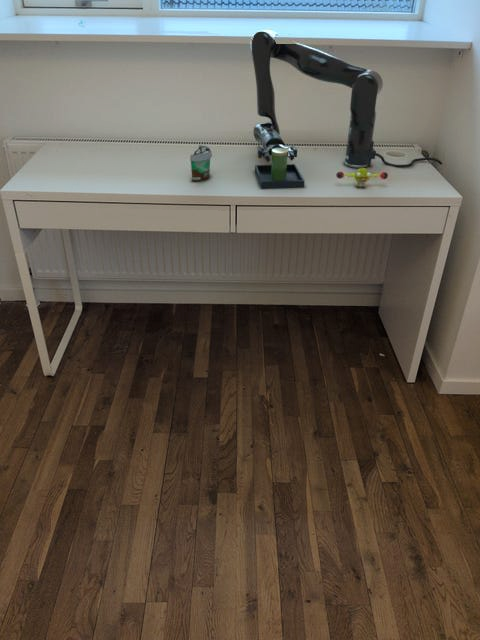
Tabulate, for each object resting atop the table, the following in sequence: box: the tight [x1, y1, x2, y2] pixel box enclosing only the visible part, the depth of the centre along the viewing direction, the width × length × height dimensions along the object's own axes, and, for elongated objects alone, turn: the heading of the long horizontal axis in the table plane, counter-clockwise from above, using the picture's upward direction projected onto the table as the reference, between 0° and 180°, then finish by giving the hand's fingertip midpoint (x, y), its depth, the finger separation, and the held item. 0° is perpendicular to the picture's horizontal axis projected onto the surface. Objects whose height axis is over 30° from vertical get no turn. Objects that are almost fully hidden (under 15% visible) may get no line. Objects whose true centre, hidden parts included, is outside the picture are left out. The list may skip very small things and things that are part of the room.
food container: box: [189, 144, 213, 183], centre depth 194 cm, size 12×6×10 cm, turn 168°
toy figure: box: [336, 167, 389, 188], centre depth 189 cm, size 18×6×7 cm, turn 90°
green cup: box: [270, 148, 289, 181], centre depth 193 cm, size 6×6×10 cm
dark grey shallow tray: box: [254, 163, 305, 190], centre depth 195 cm, size 15×17×2 cm
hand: (280, 158), depth 191 cm, fingers open, 8 cm apart
